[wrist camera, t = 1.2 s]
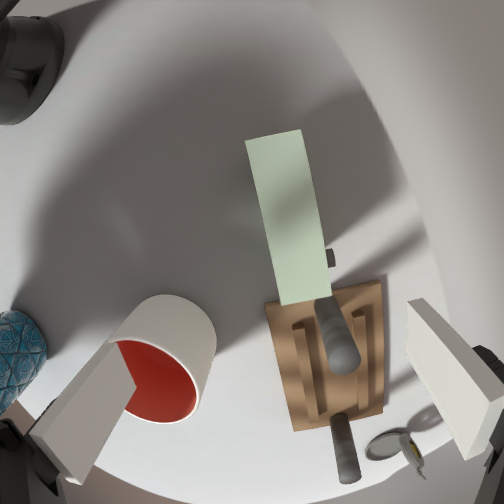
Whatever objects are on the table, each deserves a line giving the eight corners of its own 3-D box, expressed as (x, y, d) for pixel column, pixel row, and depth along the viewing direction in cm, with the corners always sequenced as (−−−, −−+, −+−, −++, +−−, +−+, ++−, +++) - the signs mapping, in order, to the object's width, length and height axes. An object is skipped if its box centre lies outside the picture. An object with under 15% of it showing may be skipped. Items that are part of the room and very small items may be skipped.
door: (254, 150, 28) (244, 140, 18) (301, 140, 27) (315, 126, 17) (279, 262, 30) (281, 305, 21) (323, 253, 30) (345, 292, 20)
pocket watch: (357, 456, 38) (367, 506, 28) (381, 421, 35) (399, 474, 26) (399, 456, 38) (414, 500, 28) (425, 422, 35) (447, 468, 26)
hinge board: (264, 301, 31) (259, 364, 21) (377, 278, 30) (421, 329, 19) (293, 427, 36) (296, 492, 26) (380, 409, 35) (402, 469, 24)
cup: (202, 281, 31) (173, 329, 22) (230, 360, 34) (216, 422, 24) (122, 299, 33) (76, 342, 23) (154, 370, 35) (124, 424, 25)
